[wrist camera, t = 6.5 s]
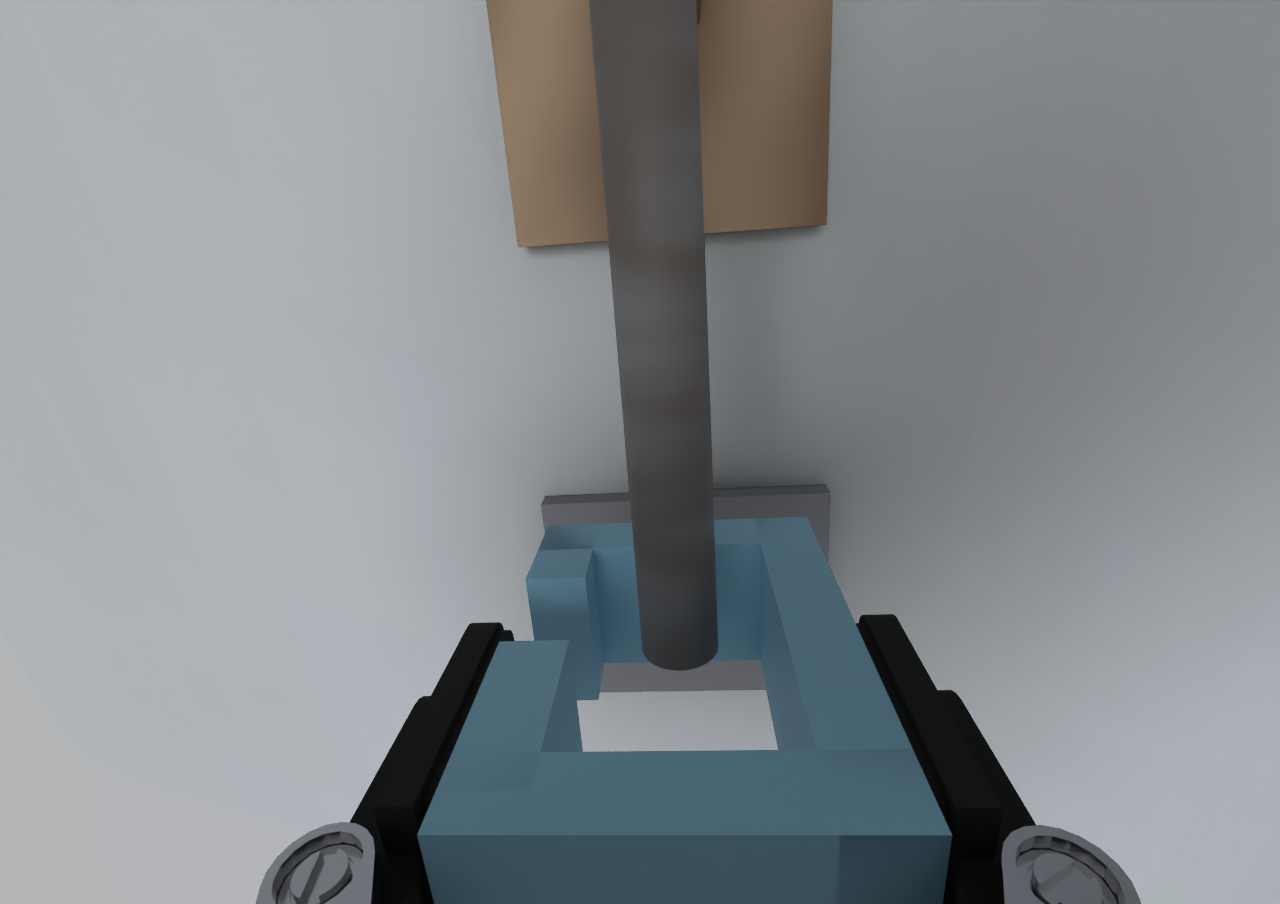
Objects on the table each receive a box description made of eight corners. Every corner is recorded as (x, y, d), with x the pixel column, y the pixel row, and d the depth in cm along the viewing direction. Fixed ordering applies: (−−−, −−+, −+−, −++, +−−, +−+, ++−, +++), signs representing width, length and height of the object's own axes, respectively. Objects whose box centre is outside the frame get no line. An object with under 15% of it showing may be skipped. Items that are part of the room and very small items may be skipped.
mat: (825, 484, 24) (830, 493, 23) (819, 675, 27) (823, 688, 26) (545, 496, 25) (541, 504, 24) (569, 680, 28) (566, 692, 27)
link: (806, 516, 14) (952, 835, 7) (803, 627, 15) (928, 1011, 8) (548, 525, 15) (417, 834, 7) (561, 632, 16) (458, 1002, 8)
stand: (825, -73, 18) (1679, -1833, 3) (813, 423, 23) (1084, 819, 8) (491, -36, 19) (-357, -1221, 3) (550, 436, 24) (314, 818, 9)
